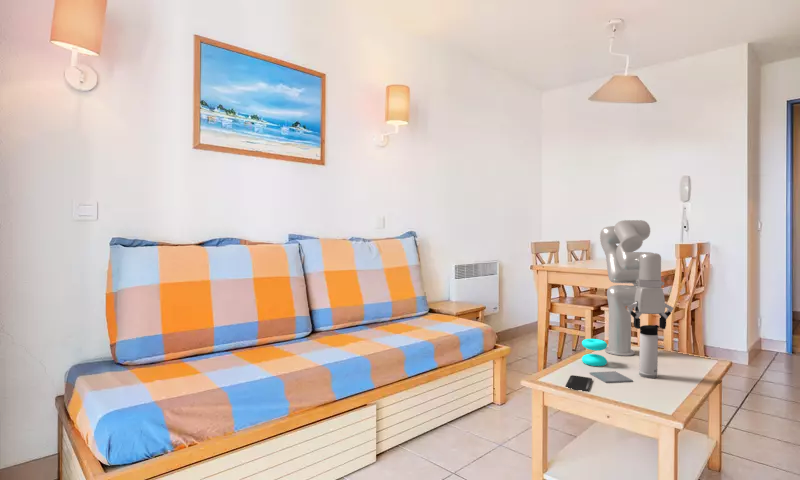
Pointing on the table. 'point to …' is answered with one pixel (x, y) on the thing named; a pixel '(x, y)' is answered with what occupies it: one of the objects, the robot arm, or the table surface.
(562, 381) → the table surface
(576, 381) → the phone
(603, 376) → the coaster
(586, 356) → the donuts
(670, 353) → the table surface
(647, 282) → the robot arm
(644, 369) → the travel mug
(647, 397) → the table surface
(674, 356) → the table surface
